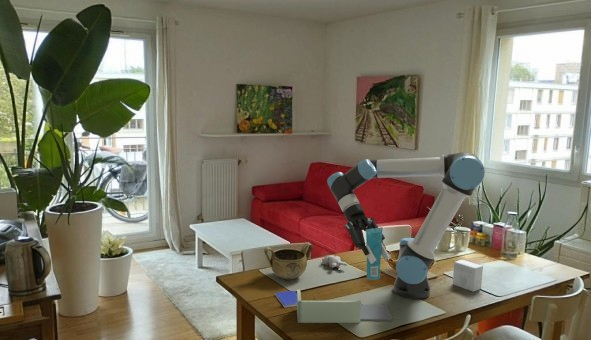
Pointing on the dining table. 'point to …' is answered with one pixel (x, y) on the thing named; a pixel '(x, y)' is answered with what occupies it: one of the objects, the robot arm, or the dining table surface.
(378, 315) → the mat
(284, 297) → the hard drive
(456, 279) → the skincare box
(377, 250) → the tube
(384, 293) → the dining table surface
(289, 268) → the ceramic bowl
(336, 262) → the bunny figurine
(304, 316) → the l-shaped block
